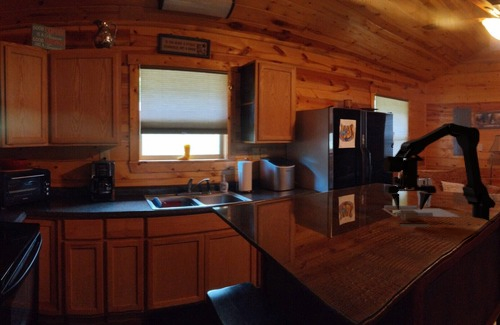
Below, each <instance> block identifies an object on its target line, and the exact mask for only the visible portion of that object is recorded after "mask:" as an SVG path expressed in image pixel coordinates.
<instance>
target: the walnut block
mask: <svg viewBox="0 0 500 325" xmlns="http://www.w3.org/2000/svg"><path fill="white" fill-rule="evenodd" d="M400 212H401V217H400V219H401V220H403V221H405V222H407V221H408V222H415V221H417V222H418V221H419V217H418V212H416V211H414V210H400Z"/></svg>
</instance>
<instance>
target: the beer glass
mask: <svg viewBox="0 0 500 325" xmlns="http://www.w3.org/2000/svg"><path fill="white" fill-rule="evenodd" d="M418 185H419V187H420V186H421V185H432V186H433V179H432V178H421V177H419V178H418ZM419 192H421V191H416V194H417V200H418V201H417V206H418V207H420V193H419ZM431 200H432V195H430V197H429V198H428V200H427V201H426V203H425V205H424V207H423V208H431Z"/></svg>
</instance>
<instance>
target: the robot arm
mask: <svg viewBox="0 0 500 325" xmlns="http://www.w3.org/2000/svg"><path fill="white" fill-rule="evenodd" d="M446 136H450V137H453V138H455V140H456V142H457V144H458V146H459V147H460V148H461V150H462V155H463V156H462V157H463V163H464V168H465V175H466V180H467V181H466V182H467V183H466V184H465V186H462V193H463V197H464V198H465V200H467V204H468V205H471V206H472V209H471V210H472V211H471V216H472V217H473V218H476V219H480V220H485V221H488V222H490V223H491V222H492V223H494V220H492V219H490V210H491V209H493V208H495V206H496V201H494V199H492V198H491V196H490V194H489V191H488V187H486V185H485V184H484V183H483V181H482V176H481V168H480V162H479V155H478V150H477V149H478V148H477V147H478V146H479V143H480V141H481V140H480V139H481V138H480V136H481V134H480V130H479V129H478V128H477V127H475V126H473V127H472V126H466V125H465V126H464V125H460V124H457V123H454V122H448V123H447V122H446V123H443V124H442V125H440V126H438V127H437V128H436V129H434V130H431V131H429V132H427V133H426V134H424V135H422V136H420V137H417V138H413V139H410V140H407V141H404V142H402V143H401V144H400V148H399V150H398V151H397V152H396V154H395V155H393V156H391V155H386V156H385V159H384V160H383V163H382V169H383V171H384V173H389V174H391V173H401V174H400V177H399V176H392V184H385V186H384V188H383V190H384V192H386V193H387V194H389V195H391V197H392V199H393V202H394V206H396V208H397V210H396V211H400V210H399V206H400V193H399V192H417V191H421V192H419V193H420V206H419V209H420V210H422V209H424V208H425V207H424V205H425V203H426V201H427V200H428V198H429V197H430V195H431V196H433V195H434V194H436V193H437V188H436V186H435V185H433V184H432V185H421V186H420V187H419V185H418V178H420V175H419V168H418V166H419V162H423V161H424V158H422V157H421V156H420V154H421V153H422V152H423V151H425V149H426V148H427V147H428V146H429V145H431V144H433V143H435V142H437V141H439V140H441V139H443V138H445V137H446Z"/></svg>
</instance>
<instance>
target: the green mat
mask: <svg viewBox="0 0 500 325" xmlns="http://www.w3.org/2000/svg"><path fill="white" fill-rule="evenodd" d="M396 224H397V225H399V226H400V227H430V223H427V222H396Z"/></svg>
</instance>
